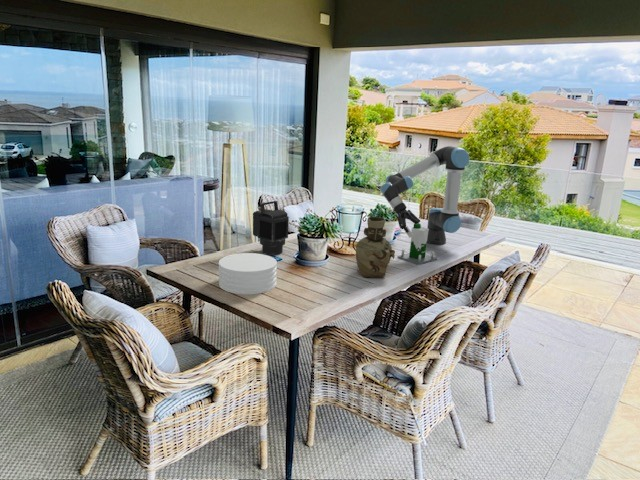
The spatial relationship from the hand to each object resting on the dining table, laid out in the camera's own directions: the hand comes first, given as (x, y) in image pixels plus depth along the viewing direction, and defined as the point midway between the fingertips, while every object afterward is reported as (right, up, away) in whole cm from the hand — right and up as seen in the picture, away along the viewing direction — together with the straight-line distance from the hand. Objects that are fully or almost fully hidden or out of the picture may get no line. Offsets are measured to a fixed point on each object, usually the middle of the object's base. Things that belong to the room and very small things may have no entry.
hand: (417, 234), depth 285 cm
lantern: (-88, -10, +4) cm, 88 cm away
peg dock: (+1, -14, +4) cm, 15 cm away
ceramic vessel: (-30, -21, -25) cm, 44 cm away
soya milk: (0, -14, +3) cm, 14 cm away
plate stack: (-94, -25, -48) cm, 108 cm away
